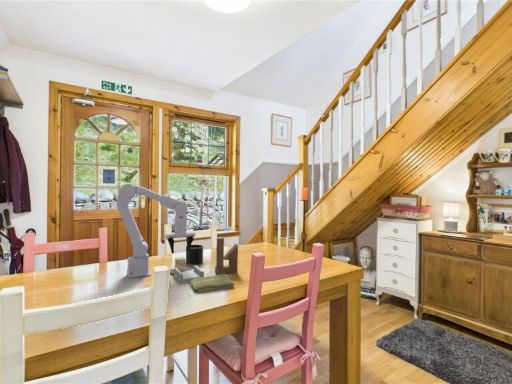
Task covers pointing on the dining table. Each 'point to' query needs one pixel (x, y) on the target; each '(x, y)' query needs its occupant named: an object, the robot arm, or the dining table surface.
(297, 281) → the dining table surface
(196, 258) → the mug
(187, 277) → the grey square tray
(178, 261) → the block
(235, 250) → the brown angular piece
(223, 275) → the washcloth
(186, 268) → the pad
